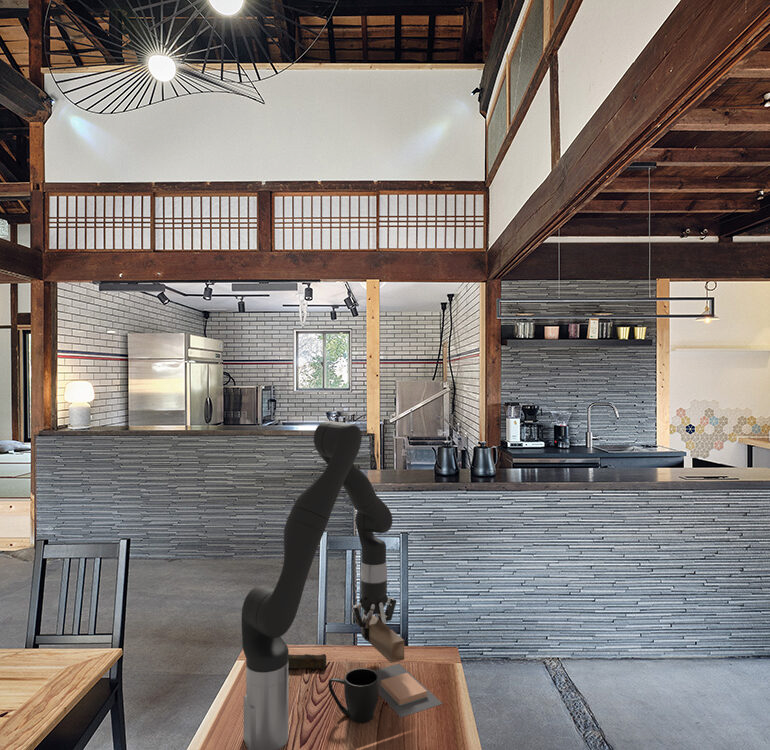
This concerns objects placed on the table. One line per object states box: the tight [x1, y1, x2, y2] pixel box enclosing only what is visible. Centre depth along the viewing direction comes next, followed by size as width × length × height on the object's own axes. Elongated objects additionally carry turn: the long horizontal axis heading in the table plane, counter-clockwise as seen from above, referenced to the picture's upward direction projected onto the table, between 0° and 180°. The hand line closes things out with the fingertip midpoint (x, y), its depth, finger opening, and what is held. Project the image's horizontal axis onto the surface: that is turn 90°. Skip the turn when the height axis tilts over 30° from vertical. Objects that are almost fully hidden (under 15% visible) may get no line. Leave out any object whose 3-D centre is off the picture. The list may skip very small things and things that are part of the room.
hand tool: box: [289, 653, 327, 671], centre depth 151 cm, size 19×4×5 cm, turn 86°
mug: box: [327, 667, 379, 724], centre depth 128 cm, size 8×12×10 cm
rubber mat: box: [373, 663, 444, 718], centre depth 139 cm, size 12×22×1 cm, turn 28°
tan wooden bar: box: [360, 614, 405, 664], centre depth 149 cm, size 4×18×5 cm, turn 28°
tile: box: [381, 673, 427, 706], centre depth 138 cm, size 8×2×10 cm
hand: (373, 637), depth 153 cm, fingers closed on tan wooden bar, 4 cm apart
